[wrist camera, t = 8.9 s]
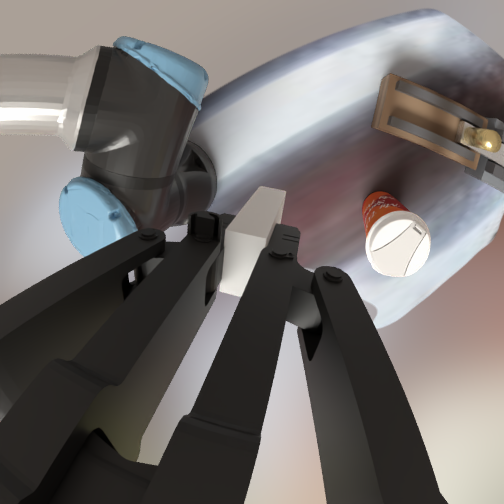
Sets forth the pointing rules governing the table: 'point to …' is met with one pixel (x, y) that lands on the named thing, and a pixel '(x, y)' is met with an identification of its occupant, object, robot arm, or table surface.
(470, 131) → the white and gold piece
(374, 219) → the coffee cup
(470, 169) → the bracket
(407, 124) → the door
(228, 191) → the table surface
